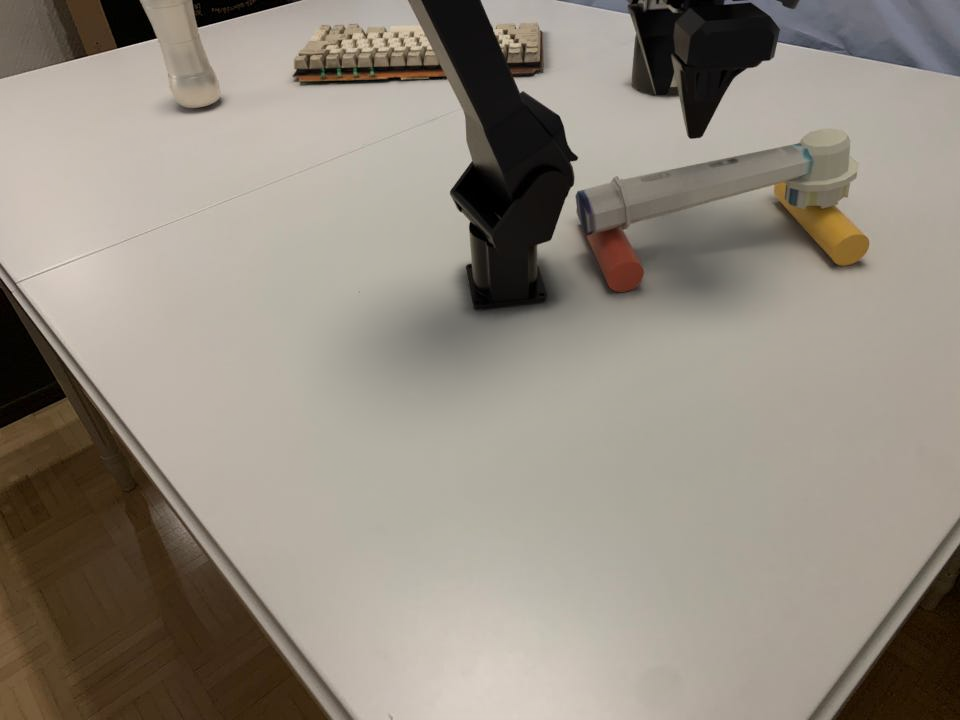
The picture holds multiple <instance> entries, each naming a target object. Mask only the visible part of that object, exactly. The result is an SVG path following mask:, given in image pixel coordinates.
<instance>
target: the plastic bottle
mask: <svg viewBox="0 0 960 720" xmlns="http://www.w3.org/2000/svg"><path fill="white" fill-rule="evenodd" d="M139 2H140V4H141V6H142V8H143V10H144V12H145V14H146V16H147V19H148V20H149V23H150V24H151V26H152V29H153V32H154V34H155V37H156V38H157V42H158V44H159V47H160V49H161V53H162V56H163V61H164V65H165V68H166V72H167V80H168V85H169V89H170V92H171V94H172V96H173V98H174V99H175V101H176V103H178V104H179V105H180V106H182V107H184V108H187V109H198V108H203V107H207V106H210V105H213V104H215V103H216V102H218V100H219V98H220V95H221V88H220V82H219V79H218V77H217V74H216V72H215V70H214V68H213V67H212V66H211V63H210V60H209V58H208V55H207V53H206V50H205V47H204V45H203V43H202V40H201V36H200V33H199V28H198V24H197V20H196V16H195V15H196V14H195V10H194V9H195V8H194V4H193V0H139Z"/></svg>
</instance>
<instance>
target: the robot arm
mask: <svg viewBox="0 0 960 720" xmlns="http://www.w3.org/2000/svg"><path fill="white" fill-rule="evenodd" d="M626 1H627V3H628V4H627V5H626V6H627V7H626V8H627V12H628V13H629V15H630V18H631V21H632V24H633V27H634V30H635V35H636V34H637V37H638V40H639V43H640V46H641V49H642V53H643V56H644V59H645V62H646V66H647V69H648V72H649V75H650V79H651V82H652V85H653V89H654V92H655V93H654V94H655V95H656V96H657V97H663V96H667V95H669V94H668V93H669V89H670V86H671V83H672V80H673V76H674V72H675V78H676V82H677V87H678V92H679V94H678V97H679V102H680V108H681V112H682V113H681V114H682V117H683V123H684V126H685V133H686V136H687V138H689V139H691V140H693V139H700V138H702V137H703V136H704V134H705V132H706V131H707V129H708V126H709V125H710V123H711V121H712V118H713V117H714V115H715V113H716V111H717V110H718V108H719V105H720V103H721V101H722V100H723V97H724V95H725V94H726V92H727V91H728V89H729V88H730V85H731V84H732V82H733V81H734V79H735V78H736V77H737V76H739V75H740V74H742V73H743V72H745V71H746V70H748V69H753V68H757V67H759V66H760V65H761V64H762V63H763V62H767V61H772V59H774V58H775V55H776V50H777V45H778V41H779V36H780V32H781V28H780V27H779V26H778V24H777V23H776V22H775V21H774V19H773V18H772V16H771V15H769V14H768V13H766V12H765V11H763V10H762V9H761V8H760V7H758V6H757V5H756V4H754V3H752V2H744V1H747V0H731V2H737V3H728V4H727V3H726V4H725V1H726V0H626ZM776 1H777V2H779V3H781V5H782V7H785V8H787V9H790V10H796V9H797V6H798V4H799V3H800V1H801V0H776ZM407 2H408V4H409V5H410V7H411V10H412V12H413V13H414V16H415V18H416V20H417V21H418V24H419V25H421V27H422V29H423V31H424V33H425V35H426V37H427V39H428V41H429V43H430V45H431V47H432V49H433V51H434V53H435V55H436V57H437V59H438V61H439V63H440V65H441V67H442V69H443V71H444V73H445V75H446V76H445V77H446V79H447V82H448V83H449V85H450V87H451V89H452V92H453V93H454V95H455V97H456V99H457V101H458V103H459V105H460V107H461V109H462V111H463V114H464V118H465V119H464V120H465V137H466V139H465V140H466V144H467V148H468V151H469V154H470V158H471V162H470V163H469V165H467V167H466V168H465V170H464V171H463V172H462V173H461V175H460V176H459V178H458V179H457V181H456V182H455V184H454V185H453V186H452V187H451V189H450V191H449V196H450V197H451V199H452V201H453V204H454V206H455V207H456V209H457V210H458V212H460V213H461V214H463V215H464V216H465V218H466V219H467V220H468V221H469V224H468V233H469V247H470V259H471V263H468V264H466V265H465V273H466V278H467V283H468V289H469V294H470V299H471V300H470V301H471V305H472V308H473V309H474V310H485V309H495V308H503V307H510V306H511V307H512V306H520V305H527V304H529V305H530V304H533V303H534V304H535V303H544V302H546V301H547V300H548V292H547V289H546V286H545V283H544V280H543V276H542V274H541V270H540V268H539V264H538V245H541V244H544V243H548V242H550V241H552V239H553V236H554V234H555V230H556V227H557V224H558V222H559V219H560V216H561V212H562V210H563V207H564V204H565V202H566V199H567V197H568V195H569V193H570V191H571V189H572V188H573V186H575V171H574V166H573V164H572V162H577V161H578V160H579V156H578V155H576V153H574V152H573V151H572V149H571V148H570V146H569V144H568V139H567V136H566V135H567V134H566V130H565V126H564V124H563V121H562V118H561V116H560V115H559V114H558V113H557V112H555V111H554V110H552V109H551V108H549V107H547V106H546V105H545V104H543V103H541V102H540V101H539V100H537V99H536V98H534V97H532V95H530V94H528V93H527V92H525V91H524V90H521V92H520V89H519V87H518V85H517V83H516V80H515V78H514V76H513V75H512V73H511V71H510V68H509V66H508V64H507V61H506V59H505V57H504V54H503V52H502V49H501V47H500V45H499V42H498V40H497V38H496V35H495V33H494V31H493V29H494V27H493V25H492V26H491V24H492V23H491V22H490V19H489V17H488V14H487V12H486V9H485V7H484V5H483V3H482V0H407ZM738 2H739V3H738ZM492 27H493V28H492Z"/></svg>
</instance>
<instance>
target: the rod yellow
mask: <svg viewBox="0 0 960 720" xmlns="http://www.w3.org/2000/svg"><path fill="white" fill-rule="evenodd" d="M785 192H786V184H785V183H784V182H783V183H779V184H775V185H774V187H773V194H774V196H775V198H776V199H777V200H778V201H779V202H780V203H781V204H782V205H783V206H784V208H785V209H786V210H787V211H788V212H789V213H790V215H791V216H792V217H793V218H794V219H795V221H797V222H798V223H799V224H800V226H801V227H802V228H803V229H804V230H805V231H806V232H807V233H808V235H809V236H811V238H812V239H813V240H814V241H815V243H817V245H818V246H819V247H820V248H822V250H823V251H824V252H825V253H826V254H827V256H828V257H829V258H830V259H831V260H832V262H833V263H835V264H836V265H838V266H849V265H853V264H855V263H857V262H859V260H861V259H862V258H863V257H864V256H865V255H866V254H867V252H868V251H869V248H870V240H869V238H868V236H867V235H866V234H865V233H864V232H863V231H861V229H860V228H859V227H857V225H856V224H855V223H854V222H853V221H852V220H851V219H850V218H848V216H847V215H845V214H844V213H843V212H842V211H841V210H840V208H838V206H837V205H834V206H830V207H826V208H823V209H822V208H821V207H820V206H807V207H806V208H805V209H803V208H799V207H796V206H792V205H790V204H789V203H788V202H787V201H786V200H785Z"/></svg>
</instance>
